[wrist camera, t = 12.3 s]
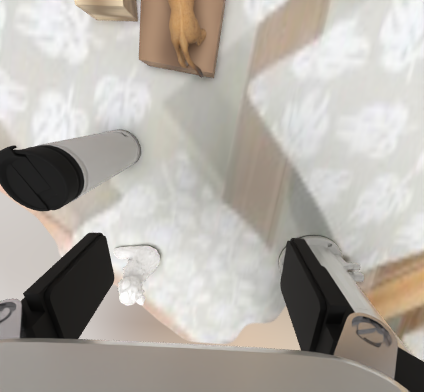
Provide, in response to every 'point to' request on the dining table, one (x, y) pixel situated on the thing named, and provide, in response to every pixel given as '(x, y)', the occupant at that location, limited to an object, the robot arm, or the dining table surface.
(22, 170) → the travel mug
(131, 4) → the oak block
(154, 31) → the walnut block
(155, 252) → the seated beast figurine
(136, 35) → the dining table surface
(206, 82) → the dining table surface
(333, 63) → the dining table surface
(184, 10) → the lion figurine
